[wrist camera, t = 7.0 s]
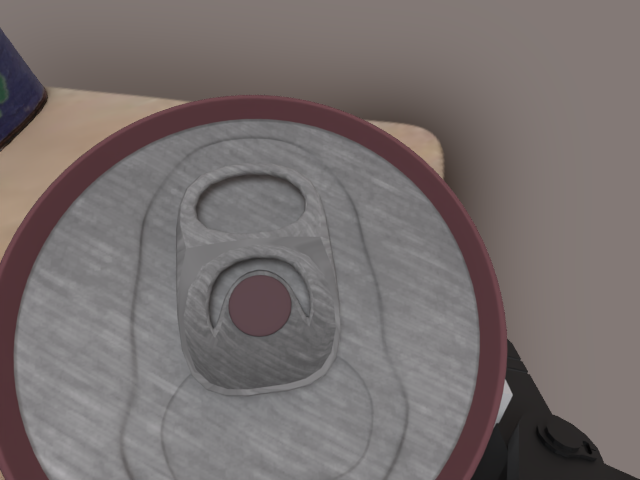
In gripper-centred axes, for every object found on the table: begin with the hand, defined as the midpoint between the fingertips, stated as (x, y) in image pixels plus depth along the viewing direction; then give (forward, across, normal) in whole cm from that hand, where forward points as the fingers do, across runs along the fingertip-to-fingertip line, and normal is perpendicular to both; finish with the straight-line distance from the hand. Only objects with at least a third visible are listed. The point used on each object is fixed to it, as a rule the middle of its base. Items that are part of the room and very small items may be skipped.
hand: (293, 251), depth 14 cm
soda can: (+1, 0, -6) cm, 6 cm away
